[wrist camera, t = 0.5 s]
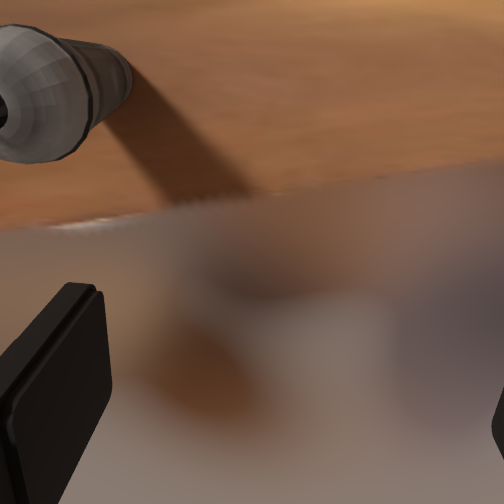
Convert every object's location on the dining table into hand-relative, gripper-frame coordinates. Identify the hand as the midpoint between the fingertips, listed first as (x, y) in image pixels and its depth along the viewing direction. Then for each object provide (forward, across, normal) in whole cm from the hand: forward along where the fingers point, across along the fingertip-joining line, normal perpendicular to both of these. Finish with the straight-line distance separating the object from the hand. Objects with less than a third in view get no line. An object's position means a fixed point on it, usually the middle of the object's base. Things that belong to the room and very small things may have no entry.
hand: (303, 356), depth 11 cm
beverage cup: (+29, +15, -2) cm, 33 cm away
